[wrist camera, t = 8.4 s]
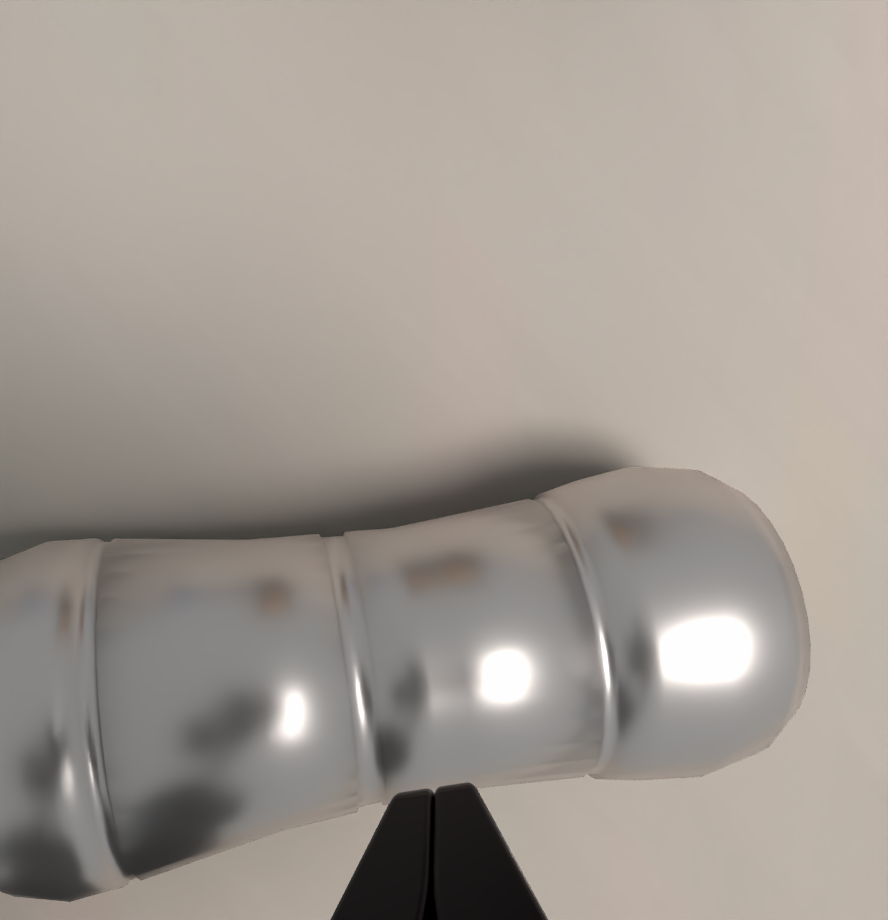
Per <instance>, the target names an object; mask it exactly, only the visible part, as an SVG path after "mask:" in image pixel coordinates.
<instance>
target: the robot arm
mask: <svg viewBox="0 0 888 920" xmlns="http://www.w3.org/2000/svg"><path fill="white" fill-rule="evenodd" d="M331 920H548V919H547V917H546V915H545V913H544V911H543V909H542V908H541V906H540V904H539V902H538V900H537V898H536V897H535V895H534V893H533V891H532V889H531V887H530V886H529V884H528V882H527V880H526V878H525V876H524V875H523V873H522V871H521V869H520V867H519V865H518V864H517V862H516V860H515V858H514V856H513V854H512V853H511V851H510V849H509V847H508V845H507V843H506V841H505V840H504V838H503V836H502V834H501V832H500V830H499V829H498V827H497V825H496V823H495V821H494V819H493V818H492V816H491V814H490V812H489V810H488V808H487V807H486V805H485V803H484V801H483V799H482V797H481V796H480V794H479V792H478V790H477V788H476V787H475V786H474V785H473V784H472V783H470V782H466V783H459V784H453V785H446V786H440V787H438V788H437V789H436V791H435V793H434V792H433V791H432V790H430V789H427V788H426V789H420V790H413V791H406V792H400V793H397V794H396V795H395V796H394V797H393V798H392V800H391V801H390V803H389V805H388V807H387V809H386V811H385V813H384V815H383V817H382V819H381V821H380V823H379V825H378V827H377V829H376V831H375V833H374V835H373V837H372V839H371V841H370V843H369V845H368V847H367V849H366V851H365V853H364V855H363V857H362V859H361V861H360V863H359V864H358V866H357V868H356V870H355V872H354V874H353V876H352V878H351V880H350V882H349V884H348V886H347V888H346V890H345V892H344V894H343V896H342V898H341V900H340V902H339V904H338V906H337V908H336V910H335V912H334V914H333V916H332V918H331Z"/></svg>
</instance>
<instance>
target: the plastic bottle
mask: <svg viewBox="0 0 888 920" xmlns="http://www.w3.org/2000/svg"><path fill="white" fill-rule="evenodd" d="M810 647H811V645H810V635H809V625H808V617H807V612H806V608H805V603H804V598H803V594H802V590H801V587H800V584H799V581H798V578H797V575H796V572H795V568H794V565H793V563H792V561H791V559H790V557H789V554H788V552H787V550H786V548H785V546H784V543H783V541H782V540H781V538H780V536H779V535H778V533H777V531H776V530H775V528H774V526H773V525H772V523H771V522H770V520H769V519H768V518H767V517H766V515H765V514H764V513H763V512H762V510H761V509H760V508H759V507H758V506H757V505H756V504H755V503H754V502H753V501H752V500H751V499H749V498H748V497H747V496H746V495H745V494H743V493H742V492H740V491H738V490H736V489H734V488H732V487H730V486H728V485H727V484H725V483H723V482H721V481H719V480H717V479H715V478H713V477H711V476H709V475H707V474H705V473H703V472H701V471H697V470H689V469H673V468H654V467H635V466H630V467H626V468H622V469H618V470H614V471H611V472H607V473H603V474H599V475H595V476H591V477H588V478H584V479H580V480H576V481H573V482H571V483H568V484H565V485H562V486H560V487H557V488H554V489H551V490H549V491H546V492H543V493H541V494H538V495H537V496H536V497H535V498H534V500H531V499H525V500H520V501H515V502H511V503H506V504H501V505H497V506H492V507H487V508H483V509H478V510H473V511H469V512H464V513H459V514H455V515H450V516H445V517H441V518H436V519H431V520H427V521H422V522H417V523H413V524H408V525H403V526H399V527H394V528H387V529H374V530H361V531H348V532H344V533H343V536H335V537H323V538H321V537H320V535H319V534H311V535H299V536H287V537H274V538H262V539H250V540H212V539H113V540H112V541H111V542H103V541H102V540H100V539H97V538H92V539H78V540H61V541H47V542H45V543H42V544H40V545H37V546H35V547H32V548H30V549H27V550H25V551H22V552H20V553H17V554H15V555H12V556H10V557H7V558H5V559H2V560H0V891H1V892H3V893H6V894H9V895H12V896H16V897H26V898H36V899H47V900H57V901H68V902H70V901H74V900H77V899H81V898H84V897H88V896H91V895H95V894H99V893H103V892H107V891H110V890H114V889H118V888H122V887H123V886H125V885H127V884H128V883H129V881H130V880H132V879H135V878H138V879H140V880H143V879H146V878H149V877H152V876H155V875H157V874H160V873H163V872H166V871H169V870H172V869H174V868H177V867H180V866H183V865H186V864H189V863H192V862H194V861H197V860H200V859H203V858H206V857H209V856H211V855H214V854H217V853H220V852H223V851H226V850H228V849H231V848H234V847H237V846H240V845H243V844H245V843H248V842H251V841H254V840H257V839H260V838H263V837H265V836H268V835H271V834H274V833H277V832H280V831H283V830H287V829H291V828H295V827H299V826H303V825H307V824H311V823H315V822H319V821H323V820H327V819H331V818H335V817H339V816H343V815H347V814H351V813H355V812H357V809H358V807H361V806H365V805H369V804H373V803H377V802H382V804H383V805H387V804H389V803H390V801H391V800H392V798H393V797H394V796H395V795H396V794H397V793H400V792H406V791H413V790H420V789H426V788H427V789H430V790H432V791H433V792H434V793H435V791H436V789H437V788H438V787H440V786H446V785H453V784H459V783H466V782H470V783H472V784H473V785H474V786H475V787H476V788H485V787H494V786H504V785H513V784H523V783H532V782H541V781H551V780H560V779H570V778H579V777H584V776H585V775H586V774H588V775H589V776H591V777H593V778H594V779H613V780H652V779H670V778H687V777H702V776H705V775H707V774H709V773H712V772H714V771H717V770H719V769H721V768H724V767H726V766H729V765H731V764H733V763H736V762H738V761H740V760H743V759H745V758H748V757H750V756H752V755H755V754H757V753H759V752H761V751H762V750H764V749H766V748H768V747H769V746H770V745H771V744H772V742H773V741H774V740H775V738H776V737H777V736H778V735H779V733H780V732H781V731H782V729H783V728H784V727H785V725H786V724H787V723H788V722H789V720H790V719H791V718H792V716H793V715H794V714H795V713H796V711H797V710H798V709H799V707H800V705H801V702H802V700H803V697H804V695H805V692H806V688H807V683H808V677H809V672H810Z"/></svg>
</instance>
